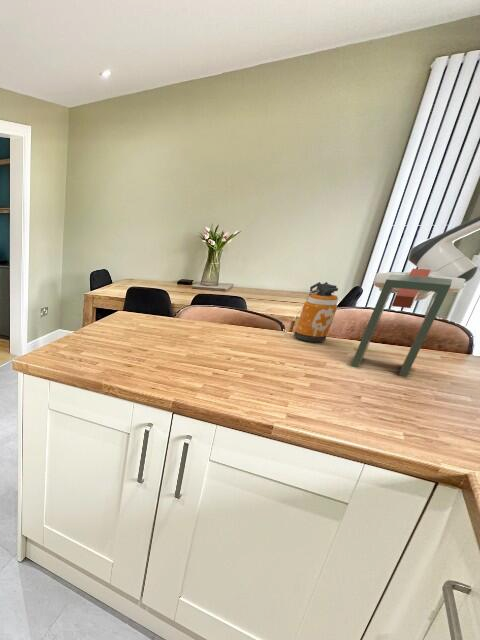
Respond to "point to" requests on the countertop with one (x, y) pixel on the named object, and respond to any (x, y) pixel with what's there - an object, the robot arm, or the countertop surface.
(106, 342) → the countertop surface
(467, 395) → the countertop surface
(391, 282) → the dark green stand
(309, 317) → the canister
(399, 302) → the red bar
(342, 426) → the countertop surface
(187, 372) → the countertop surface
